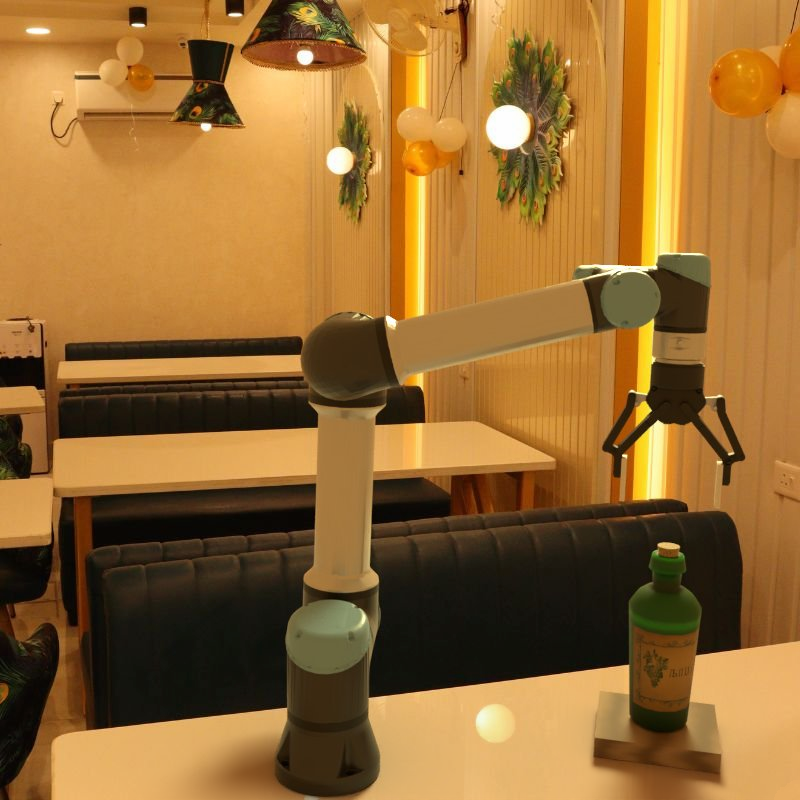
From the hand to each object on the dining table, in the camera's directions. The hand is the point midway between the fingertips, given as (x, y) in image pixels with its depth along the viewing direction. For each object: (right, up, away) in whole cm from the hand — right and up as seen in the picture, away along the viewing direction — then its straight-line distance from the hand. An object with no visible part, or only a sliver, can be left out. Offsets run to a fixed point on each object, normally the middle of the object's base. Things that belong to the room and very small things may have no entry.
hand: (668, 502), depth 148 cm
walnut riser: (0, -37, +6) cm, 38 cm away
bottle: (0, -34, +6) cm, 35 cm away
